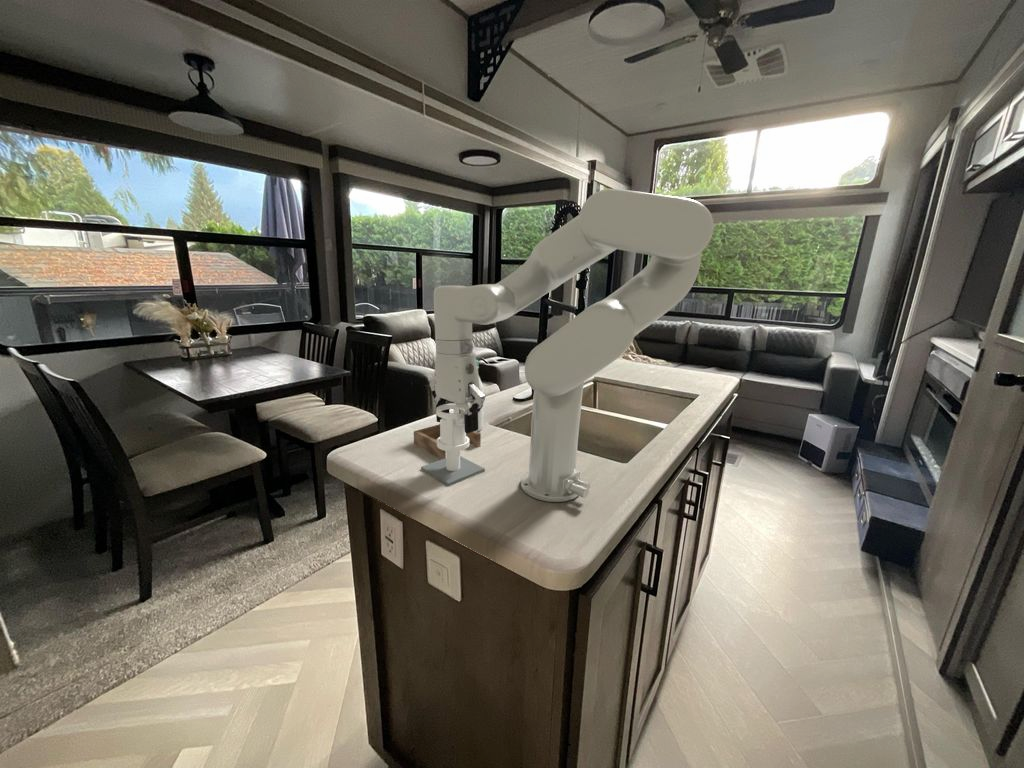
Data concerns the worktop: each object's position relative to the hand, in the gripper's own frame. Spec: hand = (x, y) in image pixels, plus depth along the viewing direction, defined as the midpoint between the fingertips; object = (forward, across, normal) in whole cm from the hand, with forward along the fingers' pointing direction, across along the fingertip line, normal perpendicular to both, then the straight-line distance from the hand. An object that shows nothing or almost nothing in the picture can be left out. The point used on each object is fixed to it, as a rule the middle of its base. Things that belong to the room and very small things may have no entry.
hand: (456, 425), depth 86 cm
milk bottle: (+10, +19, -19) cm, 29 cm away
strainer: (+10, +1, +1) cm, 10 cm away
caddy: (+10, +13, -7) cm, 18 cm away
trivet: (+11, +1, +1) cm, 11 cm away
